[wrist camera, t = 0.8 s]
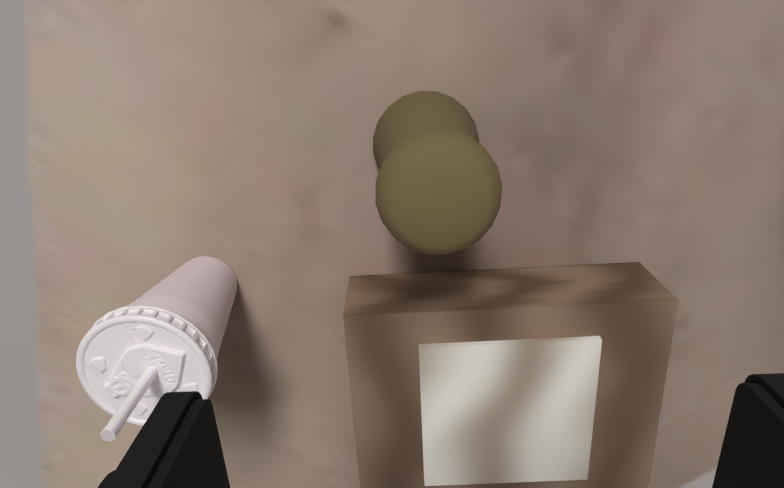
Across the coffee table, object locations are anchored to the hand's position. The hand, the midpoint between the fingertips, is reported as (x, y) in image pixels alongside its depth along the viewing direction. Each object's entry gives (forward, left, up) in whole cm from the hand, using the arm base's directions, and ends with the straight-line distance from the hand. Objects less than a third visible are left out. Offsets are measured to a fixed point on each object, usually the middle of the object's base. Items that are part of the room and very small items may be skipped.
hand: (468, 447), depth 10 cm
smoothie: (+14, +8, -23) cm, 28 cm away
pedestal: (-4, +15, -23) cm, 28 cm away
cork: (0, 0, -23) cm, 24 cm away
